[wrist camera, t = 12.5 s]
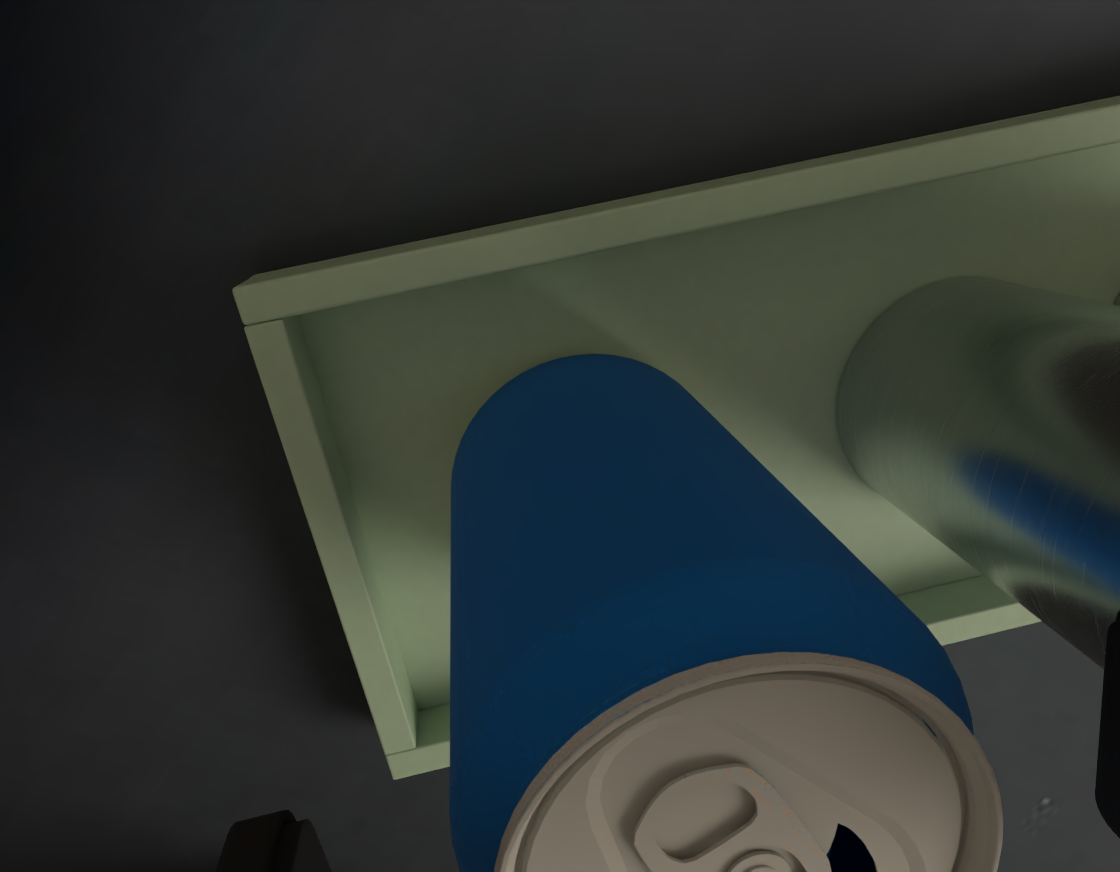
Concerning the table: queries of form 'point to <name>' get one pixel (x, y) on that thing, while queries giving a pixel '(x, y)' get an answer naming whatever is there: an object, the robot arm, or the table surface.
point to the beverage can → (683, 656)
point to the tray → (656, 356)
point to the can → (1000, 438)
